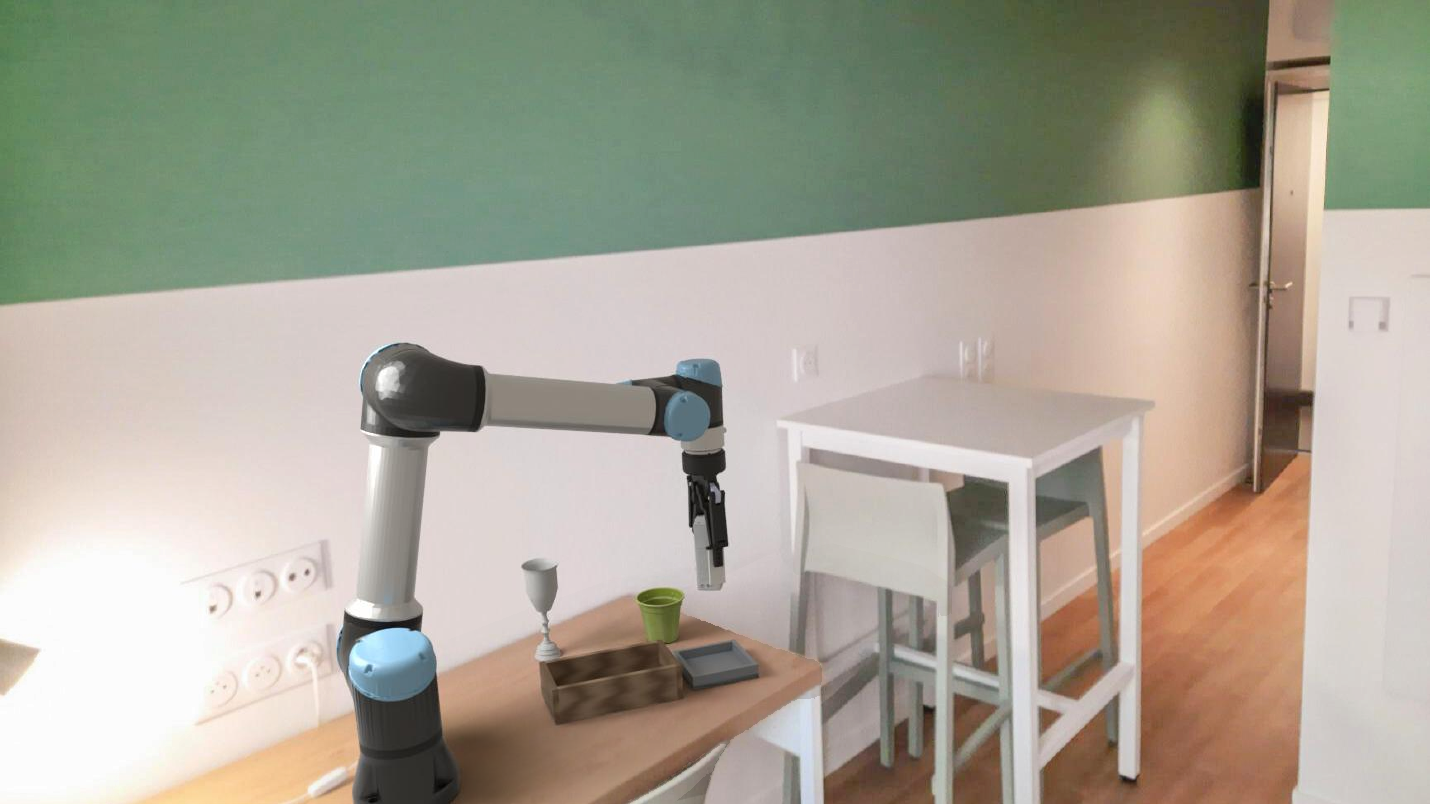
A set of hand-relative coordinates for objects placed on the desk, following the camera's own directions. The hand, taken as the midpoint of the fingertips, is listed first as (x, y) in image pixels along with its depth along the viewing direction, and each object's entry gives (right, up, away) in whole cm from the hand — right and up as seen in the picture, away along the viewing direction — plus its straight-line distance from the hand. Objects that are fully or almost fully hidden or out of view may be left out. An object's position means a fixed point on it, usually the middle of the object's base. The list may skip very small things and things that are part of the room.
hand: (710, 576), depth 190 cm
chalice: (-31, -17, +14) cm, 38 cm away
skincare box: (0, -2, 0) cm, 2 cm away
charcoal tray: (+1, -17, +3) cm, 18 cm away
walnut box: (-17, -20, -5) cm, 26 cm away
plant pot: (-9, -15, +19) cm, 26 cm away
